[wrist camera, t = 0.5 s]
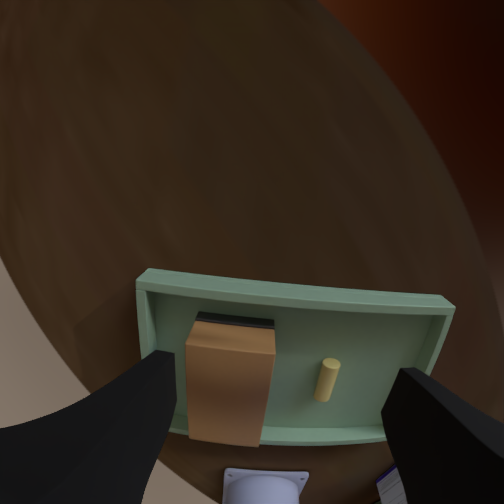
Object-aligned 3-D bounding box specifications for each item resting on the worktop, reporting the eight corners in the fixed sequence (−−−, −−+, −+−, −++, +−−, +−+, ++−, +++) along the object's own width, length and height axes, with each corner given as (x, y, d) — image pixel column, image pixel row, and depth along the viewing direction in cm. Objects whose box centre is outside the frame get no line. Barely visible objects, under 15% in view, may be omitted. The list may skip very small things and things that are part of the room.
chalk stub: (325, 390, 19) (332, 400, 18) (310, 392, 18) (317, 404, 17) (335, 356, 18) (344, 366, 17) (319, 358, 18) (327, 369, 16)
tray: (388, 423, 20) (395, 439, 18) (159, 410, 20) (152, 428, 18) (440, 294, 17) (456, 307, 15) (148, 267, 17) (135, 279, 15)
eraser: (259, 412, 19) (258, 448, 16) (198, 405, 19) (188, 439, 16) (274, 319, 17) (276, 352, 14) (198, 310, 17) (184, 341, 14)
